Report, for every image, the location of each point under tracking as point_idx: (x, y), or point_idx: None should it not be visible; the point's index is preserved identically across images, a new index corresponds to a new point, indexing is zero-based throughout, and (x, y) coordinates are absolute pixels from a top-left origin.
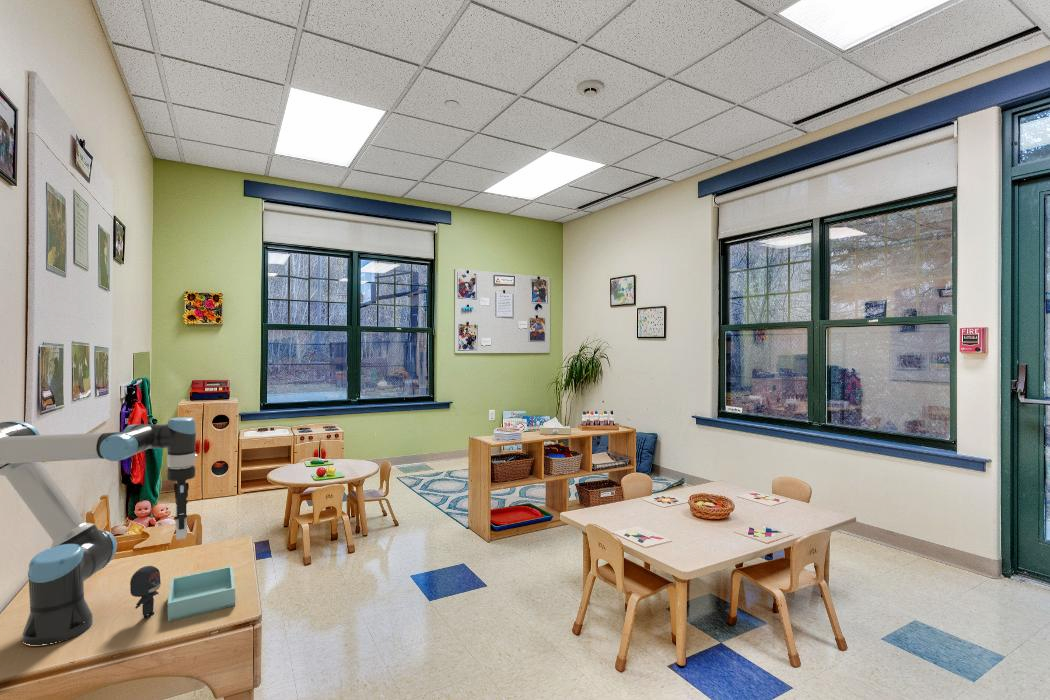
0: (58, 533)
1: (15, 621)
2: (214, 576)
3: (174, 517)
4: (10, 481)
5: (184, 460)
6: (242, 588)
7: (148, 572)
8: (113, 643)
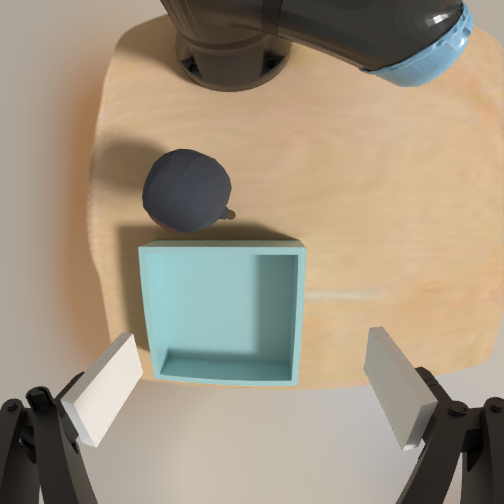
0: None
1: None
2: (292, 341)
3: (26, 397)
4: None
5: None
6: None
7: (147, 203)
8: (120, 150)
